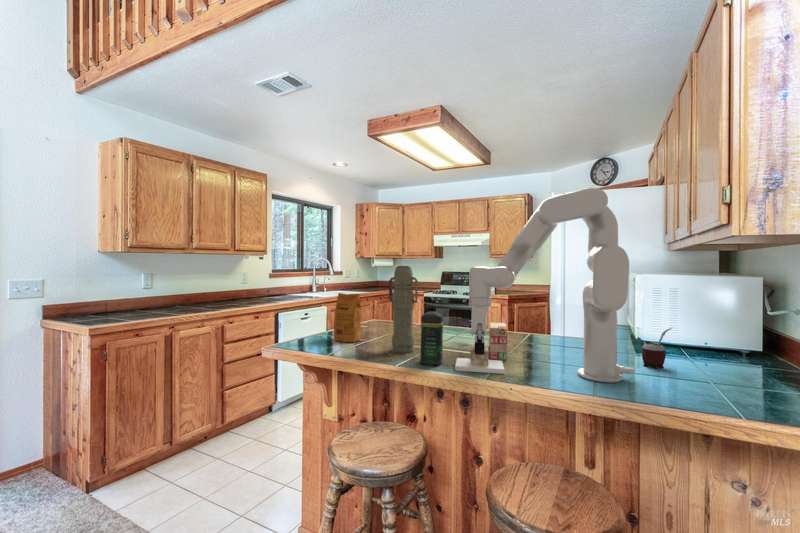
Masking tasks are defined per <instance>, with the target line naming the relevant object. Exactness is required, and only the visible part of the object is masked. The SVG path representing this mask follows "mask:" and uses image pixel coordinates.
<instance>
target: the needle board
mask: <svg viewBox="0 0 800 533" xmlns="http://www.w3.org/2000/svg"><path fill="white" fill-rule="evenodd" d="M454 370H455V371H458V372H469V373H470V372H471V373H472V372H473V373H474V372H475V373H485V374H486V373H487V374H498V375H499V374H501V375H502V374H503V375H504V374H505V367H504V363H503V360H497V359H488V366H477V365H470V358H466V357H465V358H464V357H463V358H462V357H457V358H456V361H455V365H454Z"/></svg>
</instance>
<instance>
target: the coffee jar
mask: <svg viewBox="0 0 800 533" xmlns="http://www.w3.org/2000/svg"><path fill="white" fill-rule="evenodd" d="M443 336H444V316H443V314H442V313H441V312H439V311H430V310H429V311H428V312H426V313H423V314H422V315H421V318H420V358H419V360H420V364H422V365H423V364H424V365H427V366H435V365H436V366H439V365H441V363H442V362H443V349H444V348H443V346H444V345H443V344H444V343H443V341H444V337H443Z"/></svg>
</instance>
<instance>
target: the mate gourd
mask: <svg viewBox="0 0 800 533" xmlns="http://www.w3.org/2000/svg"><path fill="white" fill-rule="evenodd" d="M672 329H673V327H670V328H668V329H666V330H664V331H663V332H662V333H661V336H660V338H659V340H658V342H657V343H654V342H653V343H651V342H646V343H644V344H643V346H642V349H641V356H642V358H641V359H642V362H643V364H642V366H643V367H646V368H648V367H649V368H653V369H654V370H658V368H660V369H664V368H665V366H664V364H665V360H666V356H667V353H666V348H665V347H664V345H663V344H661V342H662V340H663V338H664V337H665V335H666V333H667V332H669V331H670V330H672Z"/></svg>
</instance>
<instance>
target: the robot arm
mask: <svg viewBox="0 0 800 533" xmlns="http://www.w3.org/2000/svg"><path fill="white" fill-rule="evenodd" d="M608 203H609V197H608V194H607V193H606V192H605V190H603V189H601V188H599V187H587V188H583V189H579V190H575V191H571V192H568V193H563V194H559V195H556V196H551V197H548V198H546V199H544V200H542V202H541V203H540V204H539V206H537V208H536V210H535V211H534V213H533V214H532V215H531V216H530V218H529V219H528V221H527V222H526V224H524V226H523V228H522V229H521V230H520V232H519V233H518V234H517V236H516V237H515V238H514V240H513V243H512V244H511V246H510V247H509V249H508V250H507V252H506V253H505V255H504V256H503V257H502V258H501V260H500V262H499V263H498V264H497V265H496V266H495V267H489V266H472V267H470V269H469V271H468V272H469V278H468V279H469V280H468V285H469V287H468V288H469V290H468V297H469V298H468V306H469V307H471V319H470V320H471V327H470V329H471V330H470V331H471V336H472V337H473V336H474V335H475V336H474V347H475V354H477V355H484V347H485V337H486V335H487V325H488V308H491V307H492V288H497V289H503V290H504V289H508V288H510V287H511V286H512V285H513V284H514V282H515V279H516V277H517V275H519V273H520V271H521V270H522V268H523V267H524V266H525V265H526V263H528V261H530V260H531V258H533V257H534V256H535V255H536V254H537V253H538V252H539V251H540V249H541V248H542V247H543V246H544V244H545V243H546V242H547V240H548V239H549V238H550V236H551V235H552V233H554V231H555V229H556V228H557V227H558V225H559V224H560V223H565V222H570V221H575V220H578V219H581V220H582V221H583V222H584V223H585V224H586V226H587V235H588V238H587V253H586V254H587V255H586V265H587V268H588V270H590V271H591V272H593V274H592V280H590V281H588V282H587V284H586V285H585V286H584V288H583V291H582V307H583V354H582V355H583V356H582V359H583V360H582V361H583V362H582V363H583V364H582V367H581V368H579V369H578V371H577V375H578V376H579V377H581V378H583V379H586V380H589V381H593V382H600V383H619V382H622V381H623V376H622V375H624V374H627V375H634V374H635V369H634V368H633V367H627V366H625V365H624V366H622V365H619V364H618V363H617V361H618V360H617V359H618V313H617V312H618V311H619V310H621V309H622V308H623V307H624V306H625V304H626V302H627V300H628V296H629V284H630V283H629V281H630V260H629V256H628V253H627V251H626V250H625V249H624V248H623V247H621V246H620V245H619V224H618V220H617V217H616V215H615V214H614V212H613V211H612V209H611V208H610V207H609V205H608Z"/></svg>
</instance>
